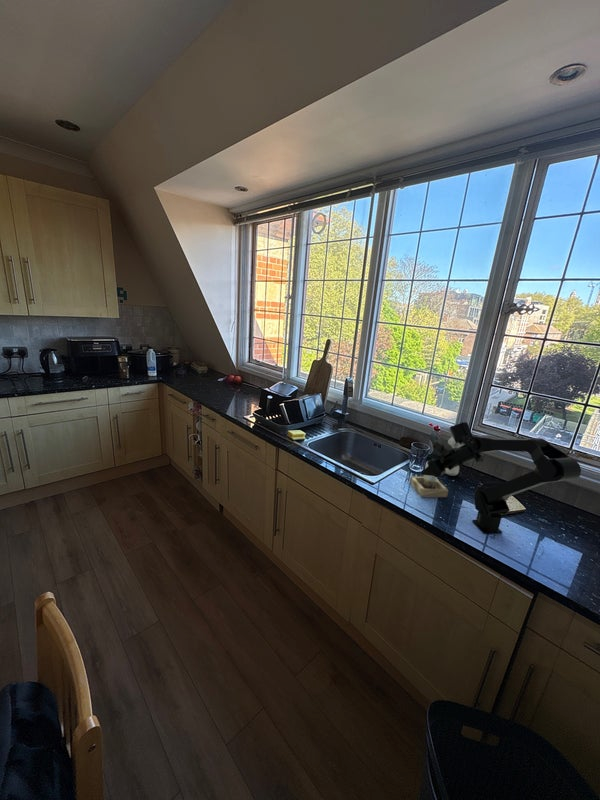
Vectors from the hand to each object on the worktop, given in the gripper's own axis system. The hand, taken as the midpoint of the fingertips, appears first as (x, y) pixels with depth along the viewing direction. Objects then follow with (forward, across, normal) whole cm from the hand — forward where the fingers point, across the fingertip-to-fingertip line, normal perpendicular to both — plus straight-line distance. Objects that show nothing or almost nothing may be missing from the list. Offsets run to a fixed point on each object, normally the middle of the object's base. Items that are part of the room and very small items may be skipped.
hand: (427, 470), depth 127 cm
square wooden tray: (+5, 0, +7) cm, 8 cm away
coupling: (+4, 0, +6) cm, 8 cm away
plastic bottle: (+6, -21, +6) cm, 23 cm away
